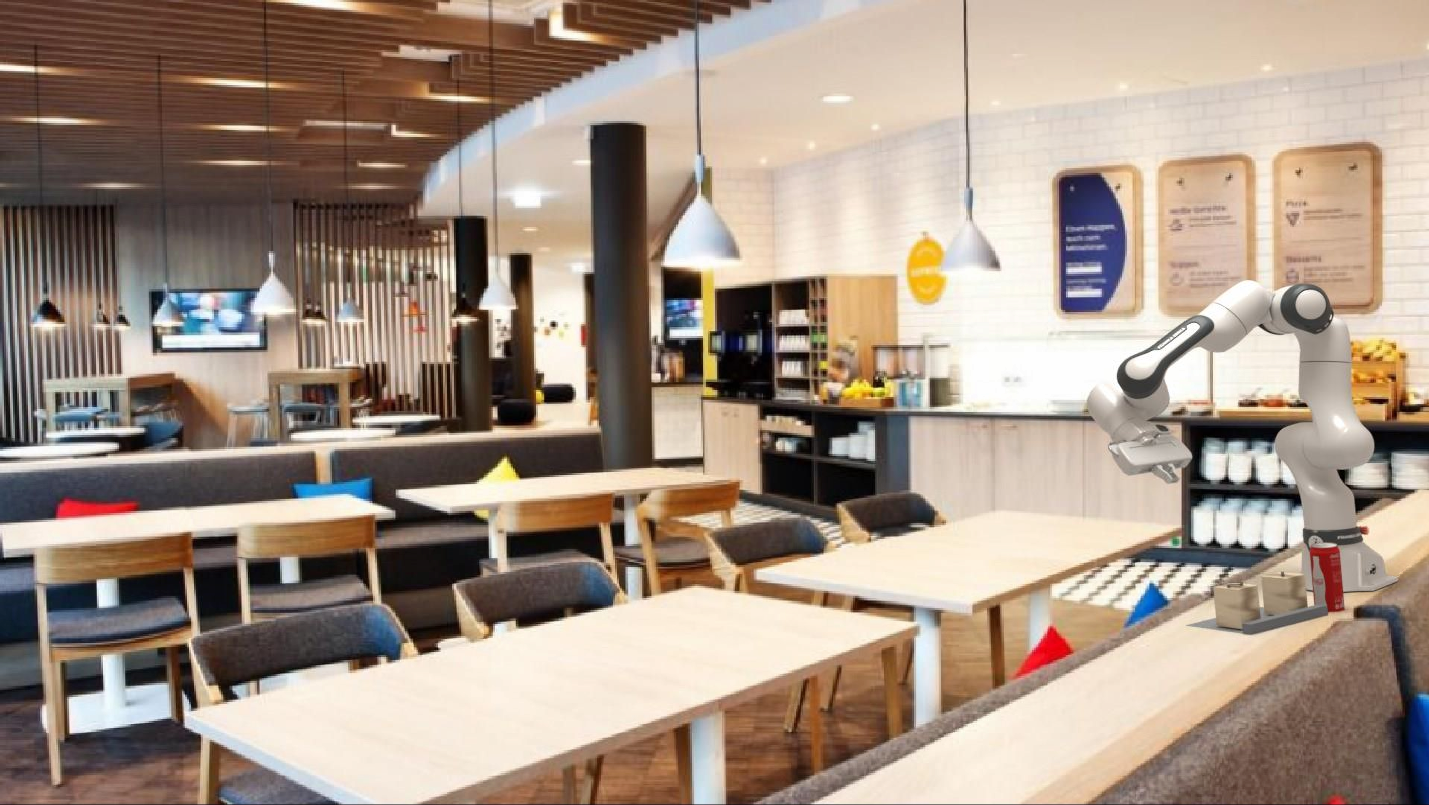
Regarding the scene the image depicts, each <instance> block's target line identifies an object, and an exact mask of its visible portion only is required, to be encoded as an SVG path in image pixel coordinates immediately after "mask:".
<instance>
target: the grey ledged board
mask: <svg viewBox="0 0 1429 805" xmlns="http://www.w3.org/2000/svg"><path fill="white" fill-rule="evenodd" d="M1328 615H1329V612H1328V610H1327V605H1320V604H1318V605H1314V604H1313V605H1311V606H1308V607H1306V608H1302V609H1298V610H1294V611H1290V612H1286V613H1282V614H1278V615H1270V614H1265V613H1264V606H1260V616H1261V619H1258V620H1254V621H1250V622H1246V623H1242V628H1243V629H1237V628H1230V627H1222V626H1217V623H1216V617H1213V618H1210V619H1207V620H1202V621H1198V622H1193V623H1188V624H1185V626H1187V627H1192V628H1193V627H1194V628H1201V629H1206V630H1208V629H1209V630H1216V631H1221V632H1228V633H1236V634H1243V635H1249V636H1253V635H1256V634H1257V635H1258V634H1260V633H1265V632H1268V631H1272V630H1276V629H1281V628H1283V627H1287V626H1291V625H1296V624H1299V623H1303V622H1307V621H1311V620H1315V619H1318V618H1322V617H1325V616H1326V617H1327V616H1328Z"/></svg>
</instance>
